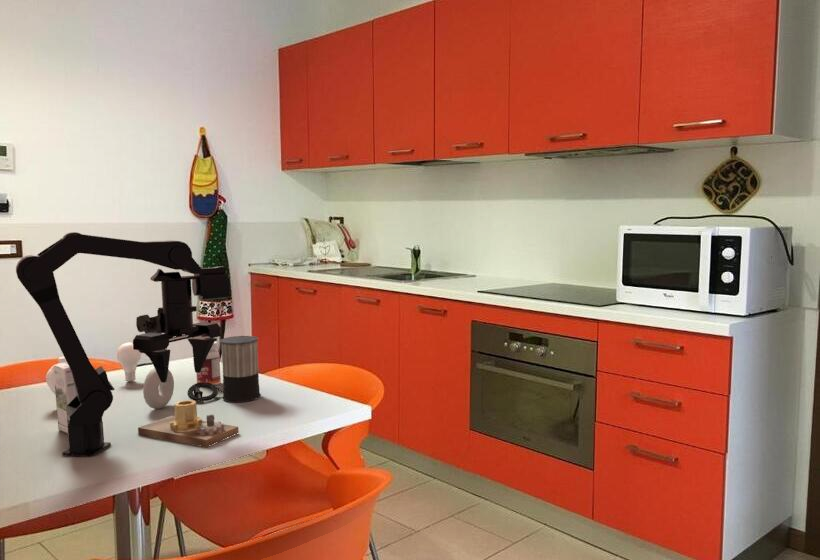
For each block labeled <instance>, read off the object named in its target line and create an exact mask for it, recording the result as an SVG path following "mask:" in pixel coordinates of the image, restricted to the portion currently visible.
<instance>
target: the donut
mask: <svg viewBox="0 0 820 560" xmlns="http://www.w3.org/2000/svg"><path fill="white" fill-rule="evenodd" d="M174 380H175V378H174V375H173V374H172V372H171V370H169V368H168V376H167V380H166V382H165V383H163V382H161V381H160V379H159V376H158V374H157V372H156V370H155V367H154V368H152V369H150V370H149V372H148V374H146V377H145V379H144V382H143V387H142V388H143V389H142V393H143V398H144V401H145V403H146V405H148V407H149V408H150V409H154V410H161V409H163V408H164V407H167V405H168V404H169V403H170V402H171V399H172V397H173V395H174V394H173V393H174V390H175V381H174Z"/></svg>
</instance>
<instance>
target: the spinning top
mask: <svg viewBox="0 0 820 560" xmlns="http://www.w3.org/2000/svg"><path fill="white" fill-rule="evenodd" d="M57 361H58V364H60V363H64V362H67V361H66V359H65V357H64V356H60V357H58V359H57ZM45 382H46V384H47V386H48V387H49V389H50V391H51V392H52V393H53V394H54V395H55V396H56V394H55V382H54V370H53V365H52V366H51V367H50V368H49V370H48V371H47V373H46V376H45Z"/></svg>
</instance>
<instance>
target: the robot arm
mask: <svg viewBox="0 0 820 560" xmlns="http://www.w3.org/2000/svg"><path fill="white" fill-rule="evenodd" d="M78 254H85V255H86V254H87V255H95V256H103V257H112V258H113V257H114V258H121V259H128V260H129V259H130V260H136V261H137V260H138V261H144V262H148V263H151V264H154V265H158V266H161V267H164V268H168V269H172V270H174V271H169V272H165V271H163V269H161V268H158V269H157V270H156V272H155V273H154V274H153V275H152V276H151V277H150V281H153V282H155V283H156V282H161V284H160V285H161V299H162V300H161V301H162V307H158V308H157V315H156V316H152V317H151V316H150V315H148V314H143V315H138V316H137V317H136V323H135V326H136V329H137V332H139V333H141V334H137V335H135V336H134V337H133V339H132V343H133V350H139V352H140V353H141V354H144V355H145V356H146V357H148V358H149V361H151V363H152V366H153V367H154V368H155V370H156V372H157V374H158V376H159V379H160V381H161V382H163V383H165V382H166V380H167V376H168V369H169V366H170V357H171V349H168V347H169V346H170V343H175V342H178V341H183V340H187V341H188V343H189V344H190V345H191V348H192V357H193V359H192V360H193V367H194V372H195V373H200V371H201V369H202V367H203V364H204V362H205V360H206V357H207V355H208V353H209V351H210V349H211V347H212V346H213V344H214V342H215V341H216V342H218V337H222V332H221V331H222V330H221V326H220V325H219V323H218V322H205V321H201V322H196V323H194V321H193V320H194V318H193V312H197V311H198V310H197V309H198V306H196V305H193V299H192V298H193V297H192V293H193V296H194V297H195V296H197V297H198V299H199V301H207V300H220V299H229V297H230V294H231V293H230V292H231V282H229V277H228V274H227V271H226V269H227V268H226V266H223V265H219V266H218V265H217V266H214V267H203V268H202V267H201V266H200V264H199V263H198V262H197V261H196V260H195V259H194V258H193V252H192V249H191V248H190V246H189V245H188V244H187V243H185V242H184V241H180V240H171V239H170V240H151V241H136V240H128V239H123V238H122V239H120V238H113V237H106V236H98V235H90V234H89V235H88V234H82V233H80V232H77V231H76V232H75V231H70V232H67V233H65V235H63V236H62V237H61V238H60V239H58V240H57V241H55V242H54V243H52V244H51V245H49V246H48V247H45V249H43V250H42V251H40V252H39V253H38V254H29V255H25V256H23V257H21V259H19V261H18V262H17V264H16V266H15V273H16V276H17V279H18V281H19V282H20V283H21V285H22V286H23V287H24V289H25V290H26V291H27V292H28V294H29V295H30V296H31V298H32V299H33V300H34V301H35V303H36V304H37V305H38V307H39V309H41V312H42V314H43V317H44V318H45V320H46V322H47V325H48V326H49V329H50V331H51V333H52V334H53V337H54V338H55V341H56V342H57V345H58V346H59V348H60V351H61V354H62V355H63V357H65V359H66V361H67V363H68V365H69V367H70V369H71V373H72V378H73V382H74V386H75V390H76V393H77V395H76V396H75V397H74V399H73V400H72V401H71V402H70V403H69V404H68V405H67V406H66V410H67V412H68V415H69V418H70V420H69V423H68V434H67V436H68V437H67V439H68V448H67V449H66V450H64V451H62V452H61V455H62V456H77V457H78V456H80V457H81V456H83V457H85V456H86V457H93V456H95V455H96V454H99V453H101V452H102V451H103V450H105V449H107V448H109V447H110V446H112V442H110V441H107V442H106V441H105V439H104V438H105V437H104V436H105V435H104V425H103V424H104V422H103V416H104V414H105V411H107V410H108V409H109V408H110V407H111V405H112V403H113V401H114V395H113V391H115V388H114V385H113V384H112V383H111V382H110V381H109V378H108V373H107V372H106V370H105V368H104V367H103V366H102V365H100V366H99V367H97V368H95V367H94V365H93V364H92V363H91V362H90V359H89V358H88V355H87V353H86V350H85V349H84V347H83V345H82V342H81V341H80V339H79V336H78V334H77V333H76V331H75V330H76V329H75V328H74V326H73V324H72V322H71V320H70V318H69V316H68V314H67V312H66V309H65V307H64V305H63V303H62V302H61V299H60V295H59V289H58V286H57V282H56V278H55V273H54V272H55V271H56V270H58V269H59V268H60V267H62V266H63V265H65V264H66V263H67V262H68V261H69V260H71V259H73V258H74V257H75V256H77V255H78ZM175 270H176V271H175ZM179 270H181V271H182V272H184V273H187V274H192V275H183V276H181V273H180V272H179ZM104 441H105V442H104Z"/></svg>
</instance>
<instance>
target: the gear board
mask: <svg viewBox="0 0 820 560" xmlns="http://www.w3.org/2000/svg"><path fill="white" fill-rule="evenodd" d="M214 416H215V415H214V414H207V415H206V420H202V422H203V423H202V424H200V426H197V427H198V429H191V430H188V431H181V430H178V431H173V428H172V429H170V422H173V421H174V419H175V415H170V416H167V417H164V418H162V419H158V420H156V421H153V422H150V423H146V424H144V425H141V426H139V427H137V434H138V436H144V437H149V438H154V439H159V440H164V441H165V440H167V441H171V442H175V443H176V442H177V443H182V444H186V443H187V445H192V444H194V445H193V446H197V445H201V446H200V447H203V446H205V447H204V448H209V447H210V446H209V445H211V446H213V445H212V444H214V443H216V442H218V443H220V442H219V441H221V440H223V439H225V438H227V437H230V436H232V435H234V434H237V433H239V426H236V425H230V424H224V423H223V422H221V421H216V422H215V417H214ZM239 434H240V433H239ZM237 435H238V434H237ZM232 437H233V436H232ZM230 438H231V437H230ZM225 440H226V439H225ZM223 441H224V440H223ZM221 442H222V441H221ZM216 444H217V443H216ZM214 445H215V444H214ZM208 446H209V447H208Z"/></svg>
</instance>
